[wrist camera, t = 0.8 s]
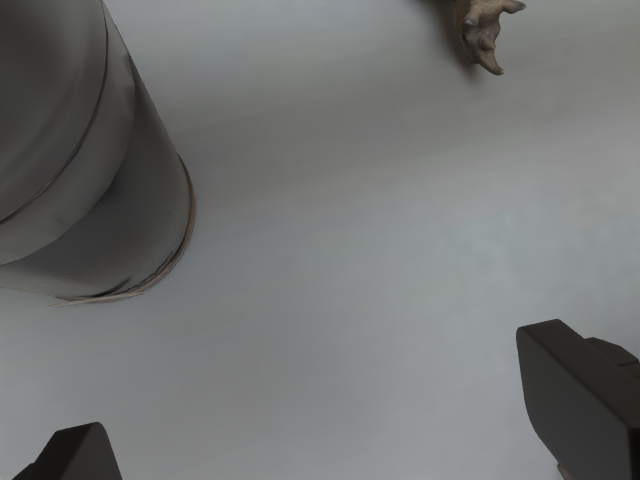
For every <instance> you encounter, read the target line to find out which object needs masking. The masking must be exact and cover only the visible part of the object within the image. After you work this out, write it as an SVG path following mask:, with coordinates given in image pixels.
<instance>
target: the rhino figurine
mask: <svg viewBox="0 0 640 480" xmlns="http://www.w3.org/2000/svg"><path fill="white" fill-rule="evenodd" d="M454 1H456V5H455V8H454V12H453V19H454V23H455V28H456V31H457V33H458V35H459V36H460V38H461V41H462V44H463V47H464V52H465V56H466V58H467V60H468V62H469V63H470V64H480V65H481V66H482V67H484V68H485V69H486V70H487V71H489V72H490V73H492V74H494V75H502V74H504V70H503V69H502V68H500V67H499V66H498V64H497V62H496V59H495V56H494V49H495V48H496V46H495V40H496V38H497V36H498V34H499V32H500V24H499V15H500V14H501V13H502V11H505V12H507V13H509V14H513V13H515V12H517V11H520V10H523V9H524V8H526V5H525V4H524V3H522V2H519V1H515V0H454Z"/></svg>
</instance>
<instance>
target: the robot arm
mask: <svg viewBox="0 0 640 480" xmlns="http://www.w3.org/2000/svg"><path fill="white" fill-rule="evenodd" d="M195 206H196V205H195V195H194V189H193V185H192V182H191V179H190V176H189V174H188V171H187V169H186V167H185V165H184V163H183V161H182V160H181V158H180V156H179V155H178V153H177V152H176V150H175V148H174V146H173V144H172V142H171V139H170V137H169V135H168V133H167V131H166V129H165V127H164V125H163V123H162V121H161V119H160V116H159V114H158V112H157V110H156V108H155V106H154V104H153V102H152V100H151V98H150V96H149V93H148V91H147V89H146V87H145V85H144V83H143V81H142V79H141V77H140V75H139V73H138V71H137V68H136V66H135V64H134V62H133V60H132V58H131V56H130V54H129V52H128V50H127V48H126V45H125V43H124V41H123V39H122V37H121V35H120V33H119V31H118V29H117V27H116V25H115V23H114V22H113V20H112V18H111V15H110V13H109V11H108V9H107V7H106V5H105V3H104V1H103V0H0V287H3V288H9V289H15V290H21V291H27V292H33V293H39V294H45V295H51V296H55V297H57V298H61V299H64V300H68V301H73V302H66V303H59V304H52V305H49V306H64V305H71V304H78V303H90V304H96V303H110V302H115V301H120V300H123V299H127V298H130V297H132V296H135V295H140V294H141V292H143V291H145V290H147V289H149V288H150V287H152V286H153V285H155V284H156V283H157V282H159V281H160V280H161V279H162V278H163V277H164V276H166V275H167V274H168V273H169V272H170V271H171V269H172V268H173V267H174V266H175V265H176V263H177V262H178V261H179V259H180V258H181V256H182V254H183V253H184V251H185V249H186V247H187V245H188V242H189V240H190V237H191V234H192V231H193V226H194V221H195ZM516 341H517V349H518V356H519V364H520V371H521V378H522V385H523V392H524V400H525V405H526V409H527V413H528V416H529V419H530V421H531V424H532V426H533V428H534V430H535V432H536V433H537V435H538V436H539V438H540V439H541V440H542V442H543V443H544V444H545V445H546V447H547V448H548V449H549V451H550V452H551V453H552V454H553V456H554V457H555V458H556V460H557V461H558V462H559V463H560V465H561V466H562V467H563V469H564V470H565V471H566V473H567V474H568V475H569V476H570V478H571V479H572V480H640V362H639V360H638V359H637V358H636V357H634V356H633V355H632V354H630V353H629V352H627V351H626V350H625V349H623V348H622V347H621V346H618V345H615V344H612V343H609V342H606V341H603V340H600V339H597V338H594V337H592V338H588V339H584V338H583V337H581V336H580V335H579V334H578V333H576V332H575V331H574V330H572V329H571V328H570V327H569V326H567V325H566V324H565V323H563V322H562V321H561V320H559V319H554V320H549V321H545V322H540V323H536V324H531V325H527V326H523V327H519V328H518V329H517V332H516ZM12 480H122V477H121V474H120V471H119V468H118V465H117V462H116V459H115V456H114V453H113V450H112V447H111V444H110V441H109V438H108V435H107V432H106V430H105V428H104V427H103V425H102V424H101V423H99V422H93V423H89V424H84V425H80V426H76V427H71V428H67V429H62V430H58V431H56V432H55V433H54V434H53V436H52V437H51V439H50V440H49V442H48V443H47V445H46V446H45V448H44V449H43V451H42V452H41V454H40V455H39V456H38V458H37V459H36V461H35V462H34V463H31V464H29V465H28V466H27V467H26V468H25V469H24V470H22V471H21V472H20V473H19V474H18V475H17V476H15V477H14V478H13V479H12Z"/></svg>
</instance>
